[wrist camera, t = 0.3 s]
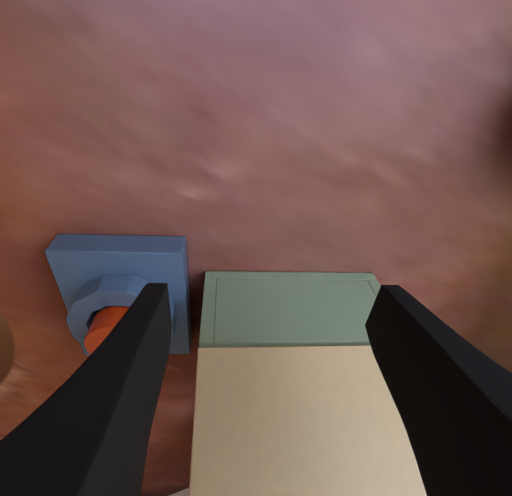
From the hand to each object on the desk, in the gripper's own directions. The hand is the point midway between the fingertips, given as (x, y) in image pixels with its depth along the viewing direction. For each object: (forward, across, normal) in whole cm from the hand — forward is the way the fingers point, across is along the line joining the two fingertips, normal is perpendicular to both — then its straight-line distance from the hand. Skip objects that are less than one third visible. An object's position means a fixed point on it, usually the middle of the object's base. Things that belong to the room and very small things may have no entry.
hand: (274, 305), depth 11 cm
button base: (+10, +8, +9) cm, 16 cm away
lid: (-2, -3, +9) cm, 10 cm away
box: (+10, -3, +12) cm, 16 cm away
